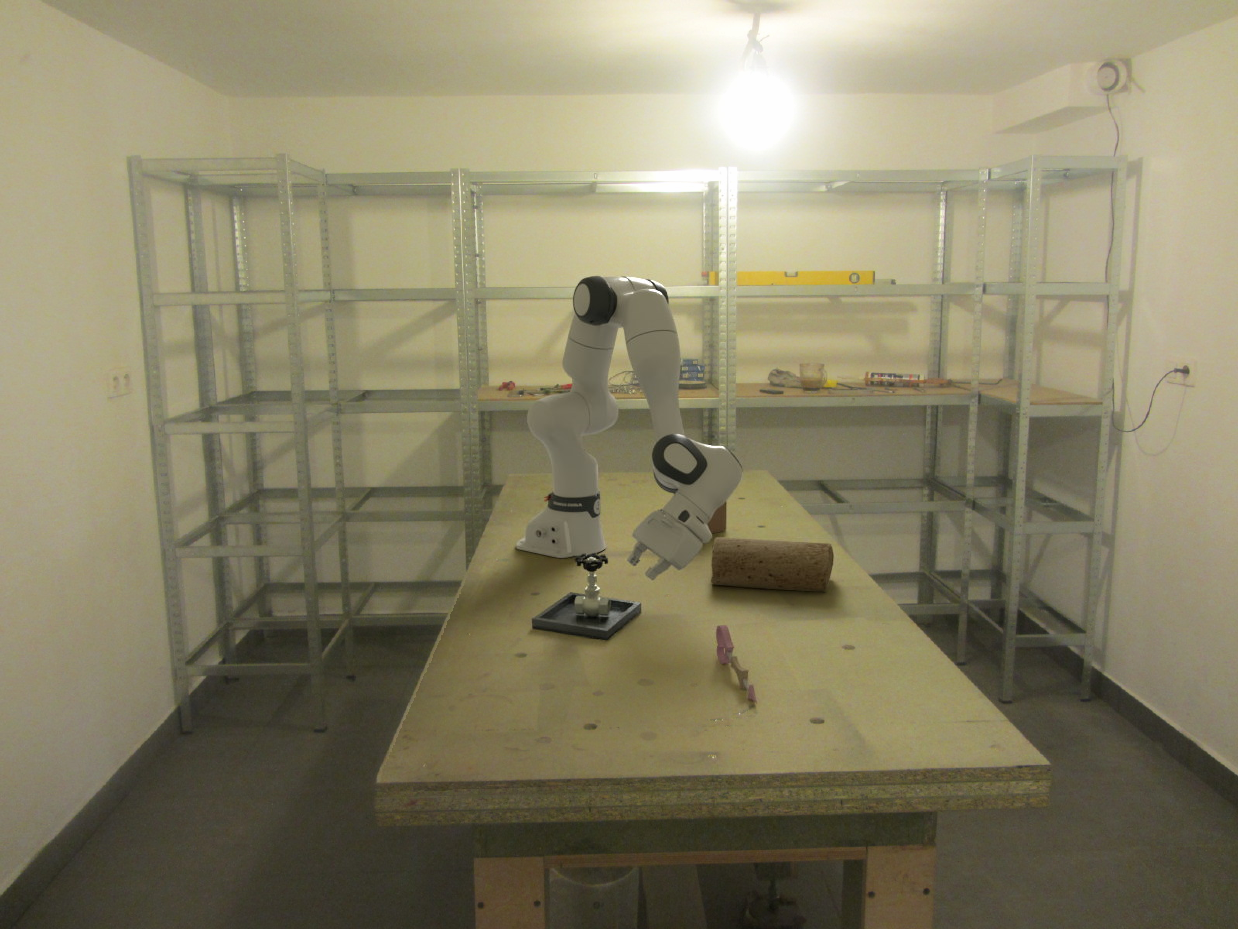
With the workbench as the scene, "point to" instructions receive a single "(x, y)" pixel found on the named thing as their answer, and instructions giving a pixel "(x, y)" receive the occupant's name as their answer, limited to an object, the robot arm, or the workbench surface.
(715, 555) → the core sample
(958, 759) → the workbench surface
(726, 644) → the decorative key
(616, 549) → the workbench surface
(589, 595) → the valve
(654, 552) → the robot arm
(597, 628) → the dark gray tray
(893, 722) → the workbench surface
